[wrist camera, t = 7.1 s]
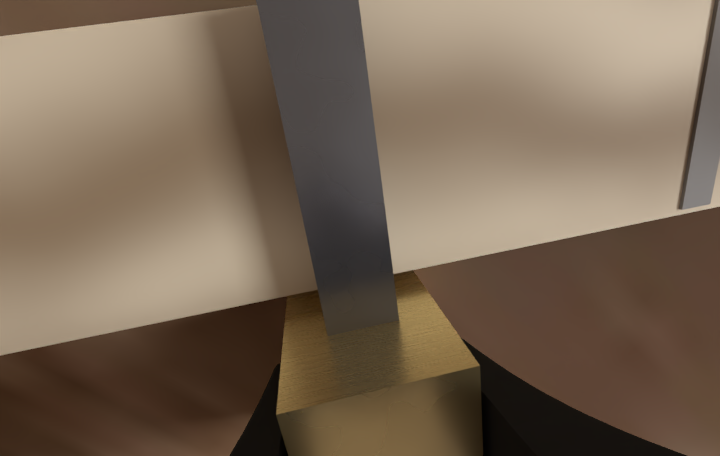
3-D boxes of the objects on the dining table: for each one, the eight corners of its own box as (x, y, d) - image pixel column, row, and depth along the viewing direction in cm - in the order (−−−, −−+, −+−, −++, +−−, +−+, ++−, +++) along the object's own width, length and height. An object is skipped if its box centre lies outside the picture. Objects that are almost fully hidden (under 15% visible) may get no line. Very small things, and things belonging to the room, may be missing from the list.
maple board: (766, 177, 13) (828, 185, 11) (-58, 342, 10) (-122, 382, 8) (823, -49, 10) (912, -76, 9) (-230, 85, 8) (-360, 78, 6)
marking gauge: (420, 380, 13) (485, 529, 8) (317, 405, 13) (324, 576, 8) (379, 4, 9) (462, -119, 4) (223, 24, 9) (125, -88, 4)
